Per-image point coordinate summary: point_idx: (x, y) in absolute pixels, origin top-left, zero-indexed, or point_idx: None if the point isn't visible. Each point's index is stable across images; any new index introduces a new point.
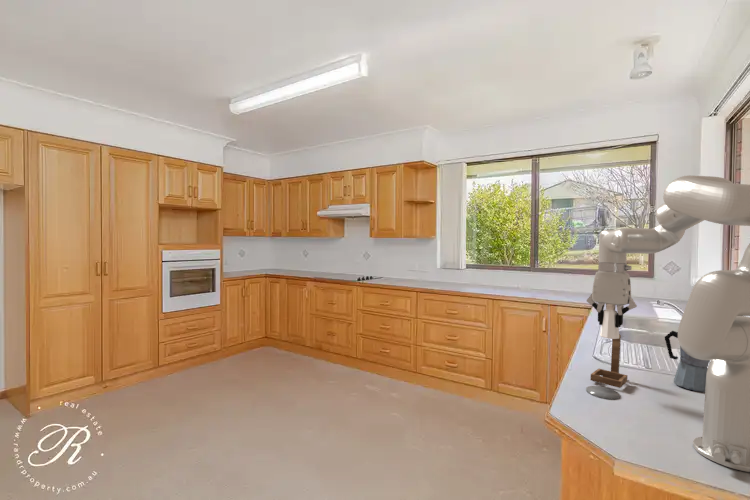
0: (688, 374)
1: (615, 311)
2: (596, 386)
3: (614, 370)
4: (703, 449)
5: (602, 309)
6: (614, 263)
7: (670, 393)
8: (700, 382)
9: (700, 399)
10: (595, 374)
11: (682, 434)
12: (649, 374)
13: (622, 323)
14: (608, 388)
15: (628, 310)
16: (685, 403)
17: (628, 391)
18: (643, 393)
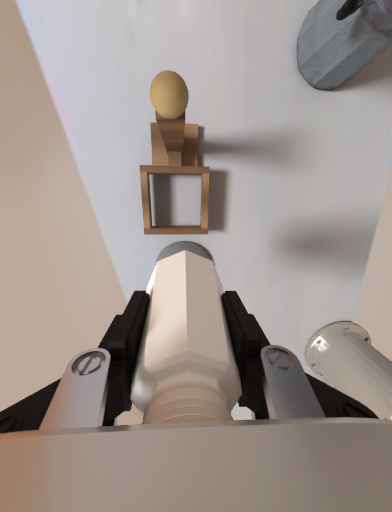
0: (351, 60)
1: (232, 408)
2: (166, 250)
3: (175, 150)
4: (315, 368)
5: (110, 391)
6: None
7: (286, 155)
8: (363, 65)
9: (335, 145)
10: (149, 216)
11: (296, 330)
12: (236, 3)
13: (251, 317)
14: (186, 243)
15: (347, 403)
16: (308, 198)
17: (217, 217)
18: (241, 204)
